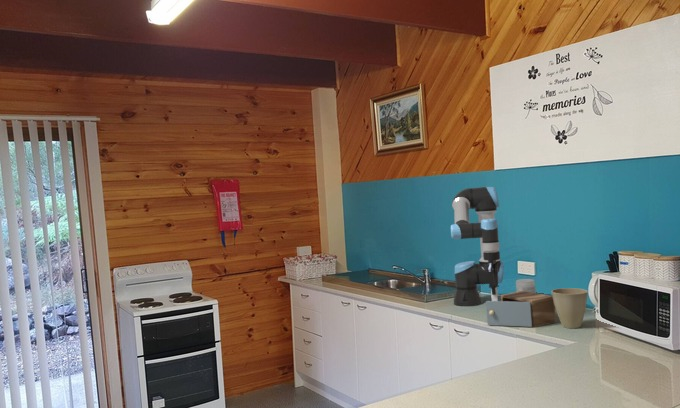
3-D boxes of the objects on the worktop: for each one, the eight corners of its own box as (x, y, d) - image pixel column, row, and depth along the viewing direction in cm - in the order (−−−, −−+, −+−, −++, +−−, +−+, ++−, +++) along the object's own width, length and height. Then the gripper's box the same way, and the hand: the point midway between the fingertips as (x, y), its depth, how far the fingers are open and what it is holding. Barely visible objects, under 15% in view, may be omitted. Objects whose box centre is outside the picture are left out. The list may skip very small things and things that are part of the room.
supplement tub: (540, 307, 279) (538, 279, 279) (531, 311, 273) (529, 282, 273) (523, 305, 286) (521, 278, 286) (514, 309, 280) (512, 281, 280)
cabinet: (502, 319, 260) (500, 295, 260) (523, 314, 266) (522, 290, 266) (534, 327, 242) (532, 300, 242) (556, 321, 248) (554, 296, 248)
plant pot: (587, 331, 229) (584, 294, 228) (550, 329, 237) (548, 293, 236) (592, 323, 241) (589, 288, 241) (557, 321, 249) (555, 287, 249)
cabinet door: (532, 326, 243) (530, 301, 242) (531, 327, 240) (529, 303, 240) (488, 324, 252) (486, 300, 252) (486, 325, 250) (485, 302, 249)
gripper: (496, 252, 246) (500, 304, 246) (502, 249, 257) (505, 298, 257) (479, 253, 250) (483, 303, 250) (486, 250, 261) (490, 298, 261)
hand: (495, 301), depth 253 cm, fingers closed
